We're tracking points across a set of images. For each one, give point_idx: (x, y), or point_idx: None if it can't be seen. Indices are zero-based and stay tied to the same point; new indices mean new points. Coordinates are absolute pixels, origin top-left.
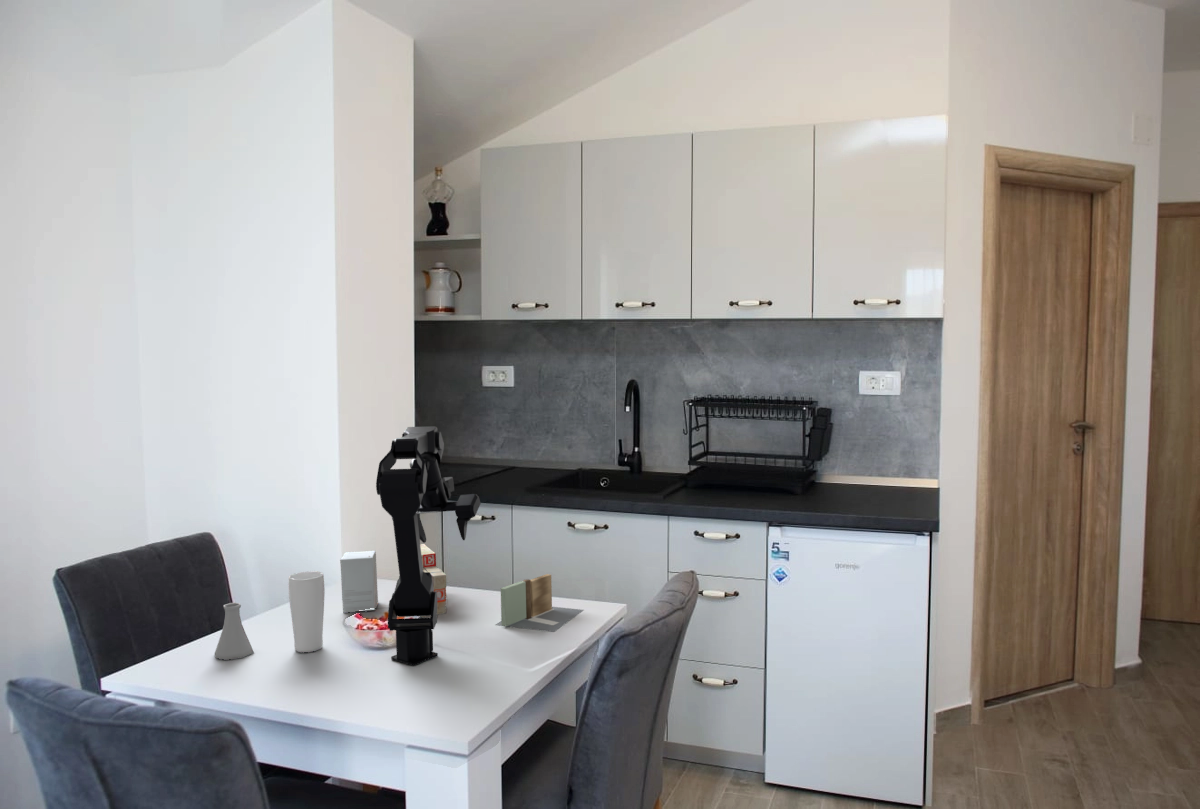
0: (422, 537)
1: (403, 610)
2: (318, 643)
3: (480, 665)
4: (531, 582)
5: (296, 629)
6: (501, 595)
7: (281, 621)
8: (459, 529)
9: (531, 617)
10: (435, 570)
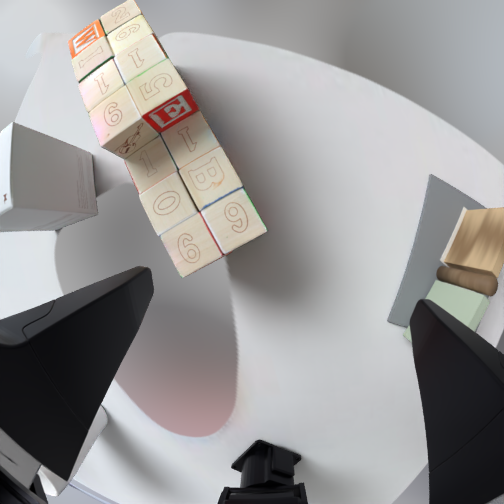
0: (133, 333)
1: None
2: (104, 426)
3: (363, 467)
4: (494, 276)
5: None
6: None
7: (5, 276)
8: (429, 438)
9: None
10: (212, 174)
